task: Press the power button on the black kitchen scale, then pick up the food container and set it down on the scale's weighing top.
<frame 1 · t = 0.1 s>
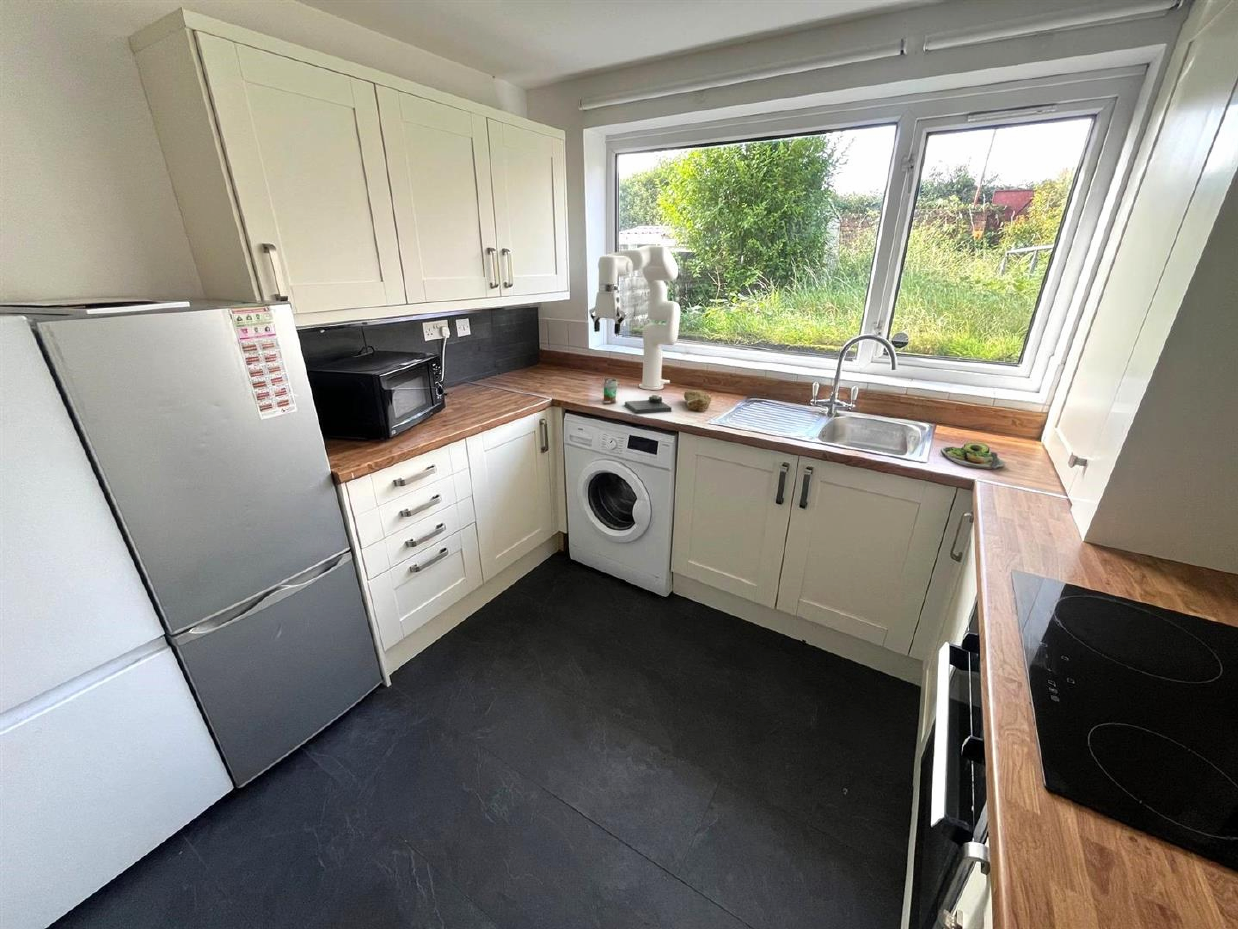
hand: (606, 332, 207), 31 cm above the countertop, tool pointing down, fingers open, 9 cm apart
food container: (610, 402, 224), on the countertop
scale button: (655, 396, 220), point 4 cm above the countertop, slide at 0.1 cm
mossy rock: (695, 406, 222), on the countertop
scale: (647, 408, 216), on the countertop
salad plate: (971, 460, 167), on the countertop
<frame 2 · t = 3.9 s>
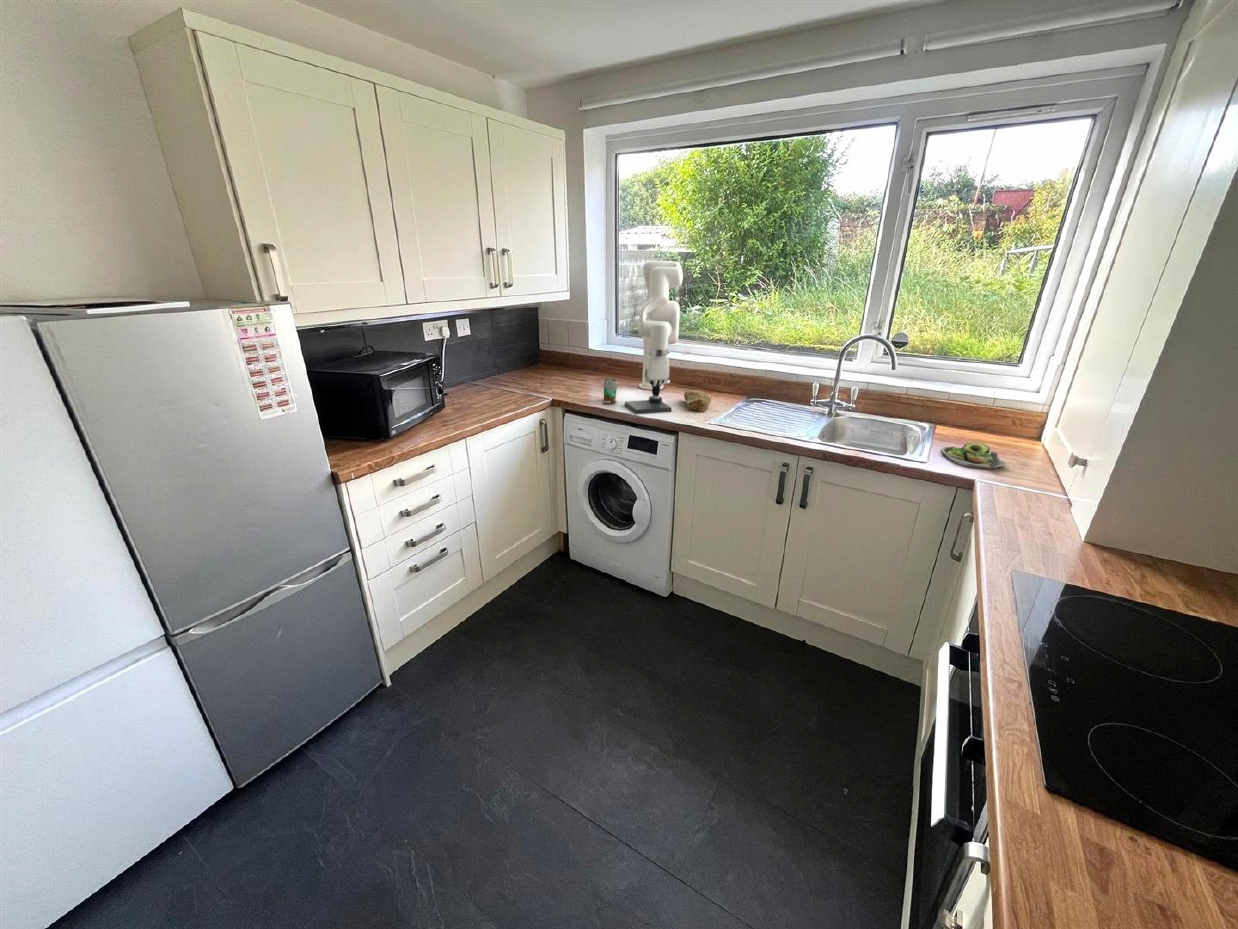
hand: (655, 395, 219), 5 cm above the countertop, tool pointing down, fingers closed
scale button: (655, 396, 220), point 4 cm above the countertop, slide at -0.1 cm, touching gripper
everything else where it was.
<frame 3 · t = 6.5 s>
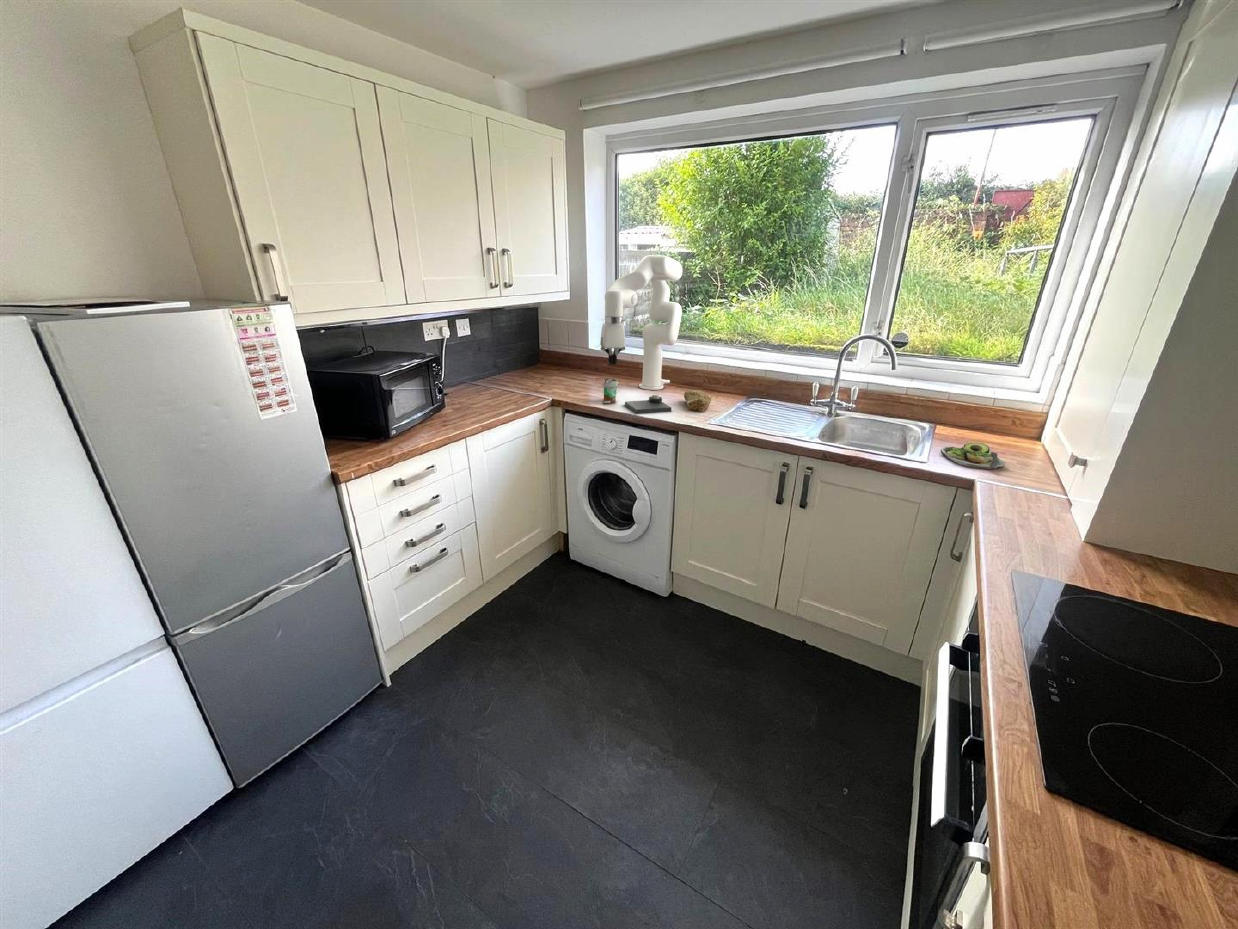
hand: (612, 363, 218), 17 cm above the countertop, tool pointing down, fingers closed
scale button: (655, 396, 220), point 4 cm above the countertop, slide at 0.1 cm
everything else where it was.
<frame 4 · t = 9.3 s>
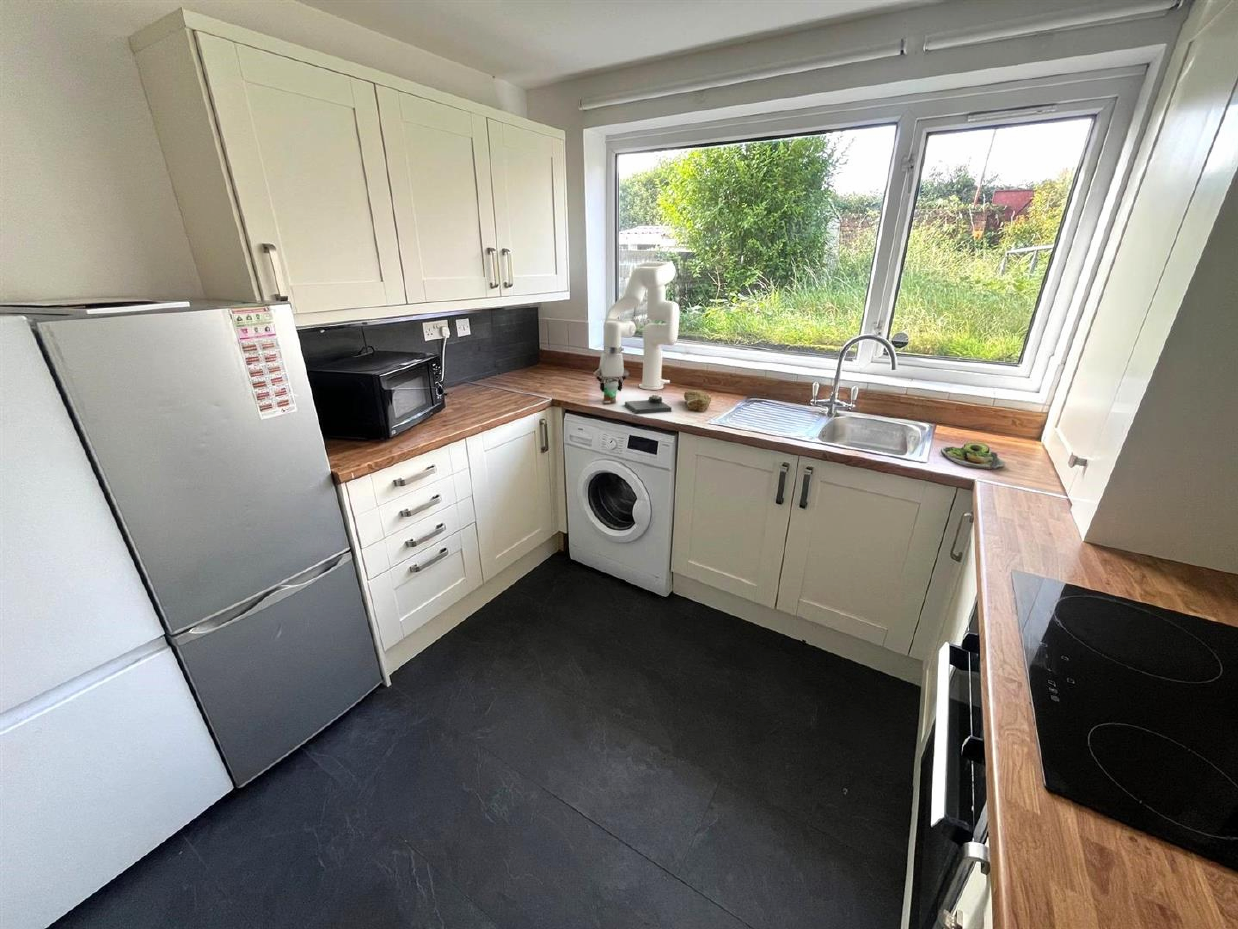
hand: (611, 390, 222), 5 cm above the countertop, tool pointing down, fingers closed on food container, 7 cm apart
food container: (610, 402, 224), on the countertop, touching gripper
everything else where it was.
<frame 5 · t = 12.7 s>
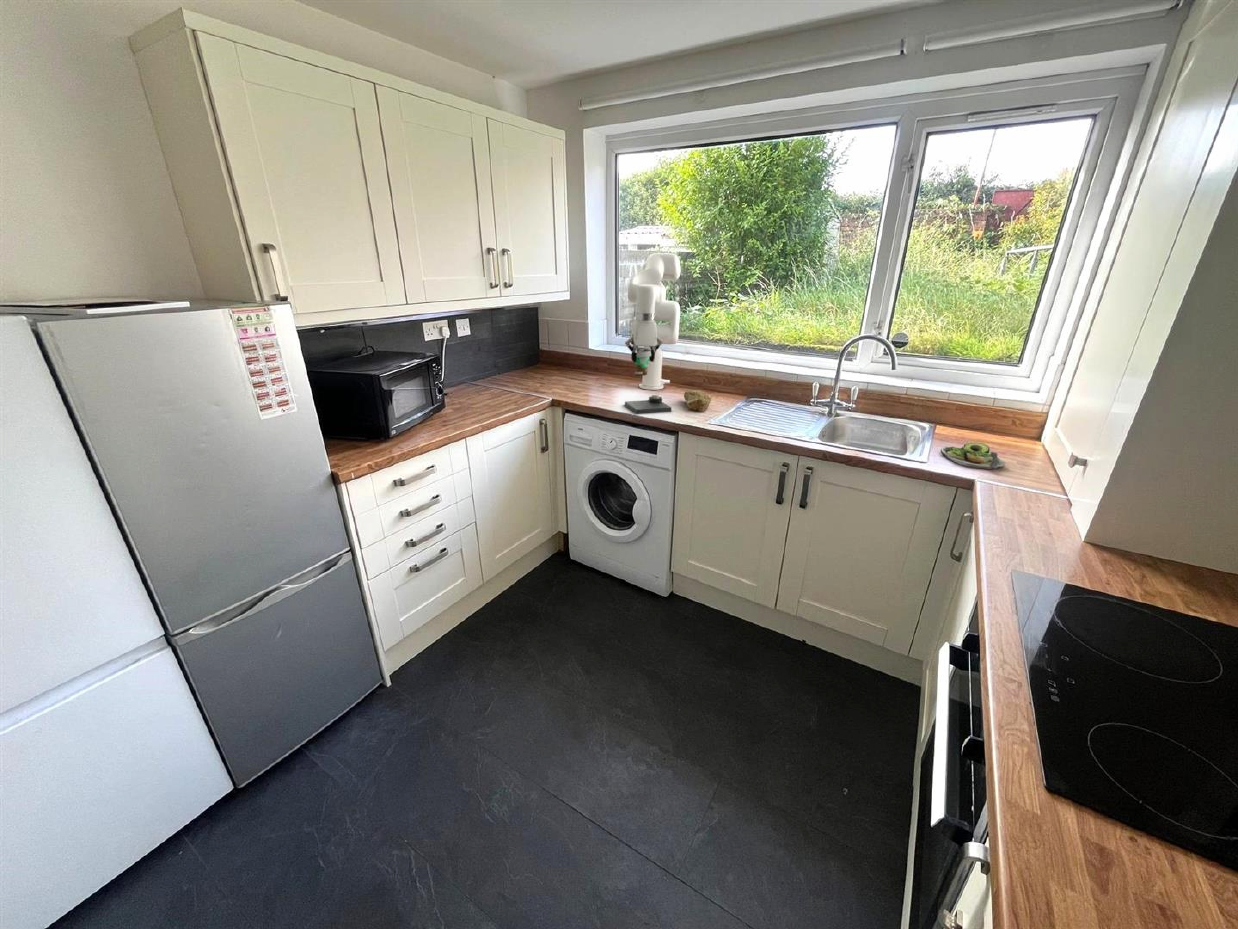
hand: (642, 361, 208), 20 cm above the countertop, tool pointing down, fingers closed on food container, 7 cm apart
food container: (642, 374, 210), point 15 cm above the countertop, touching gripper
everything else where it was.
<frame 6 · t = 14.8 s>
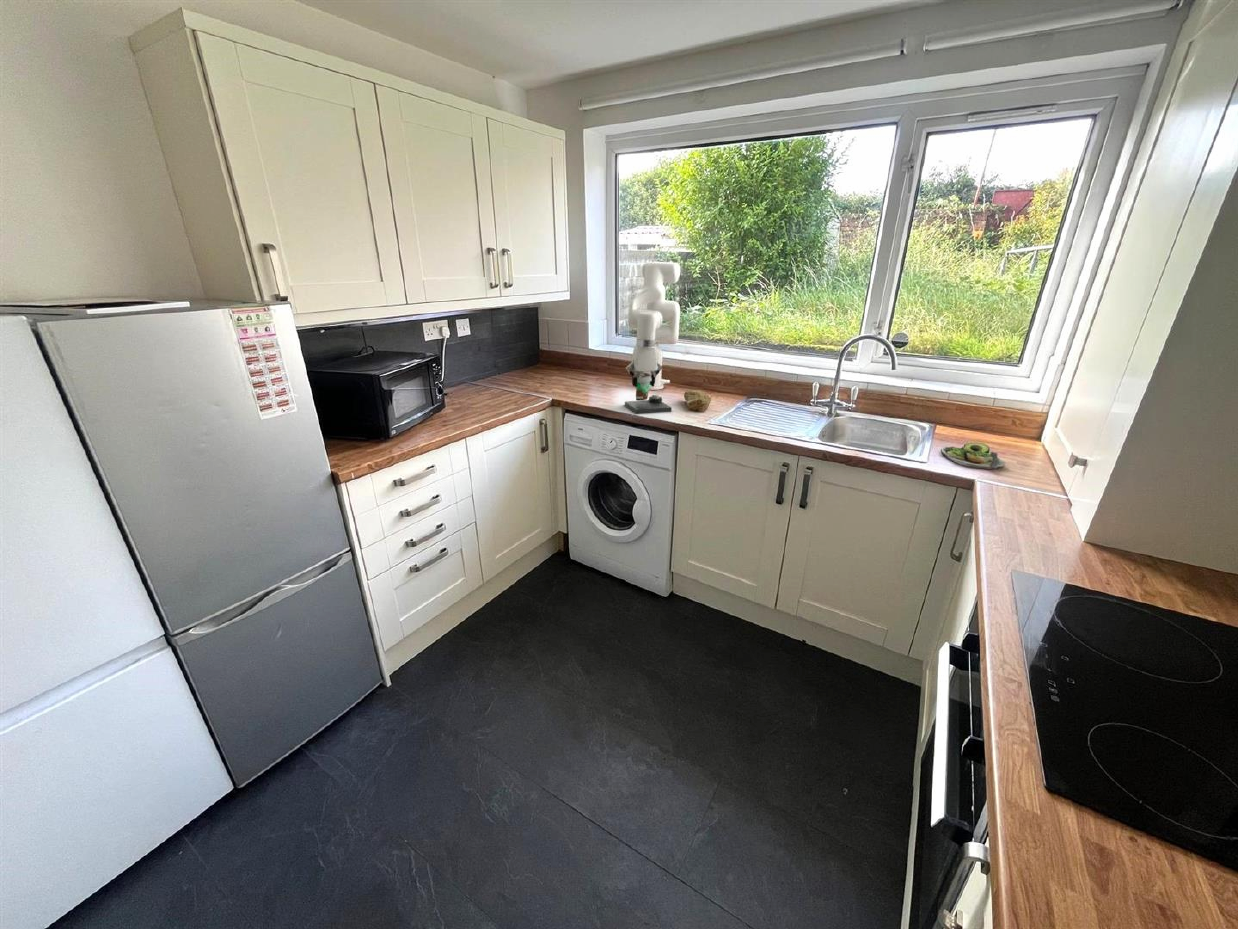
hand: (643, 385, 211), 10 cm above the countertop, tool pointing down, fingers closed on food container, 7 cm apart
food container: (643, 398, 213), point 5 cm above the countertop, touching gripper
everything else where it was.
when the fingers open (7 cm above the countertop, at t = 16.3 s): food container stays where it is, resting on scale.
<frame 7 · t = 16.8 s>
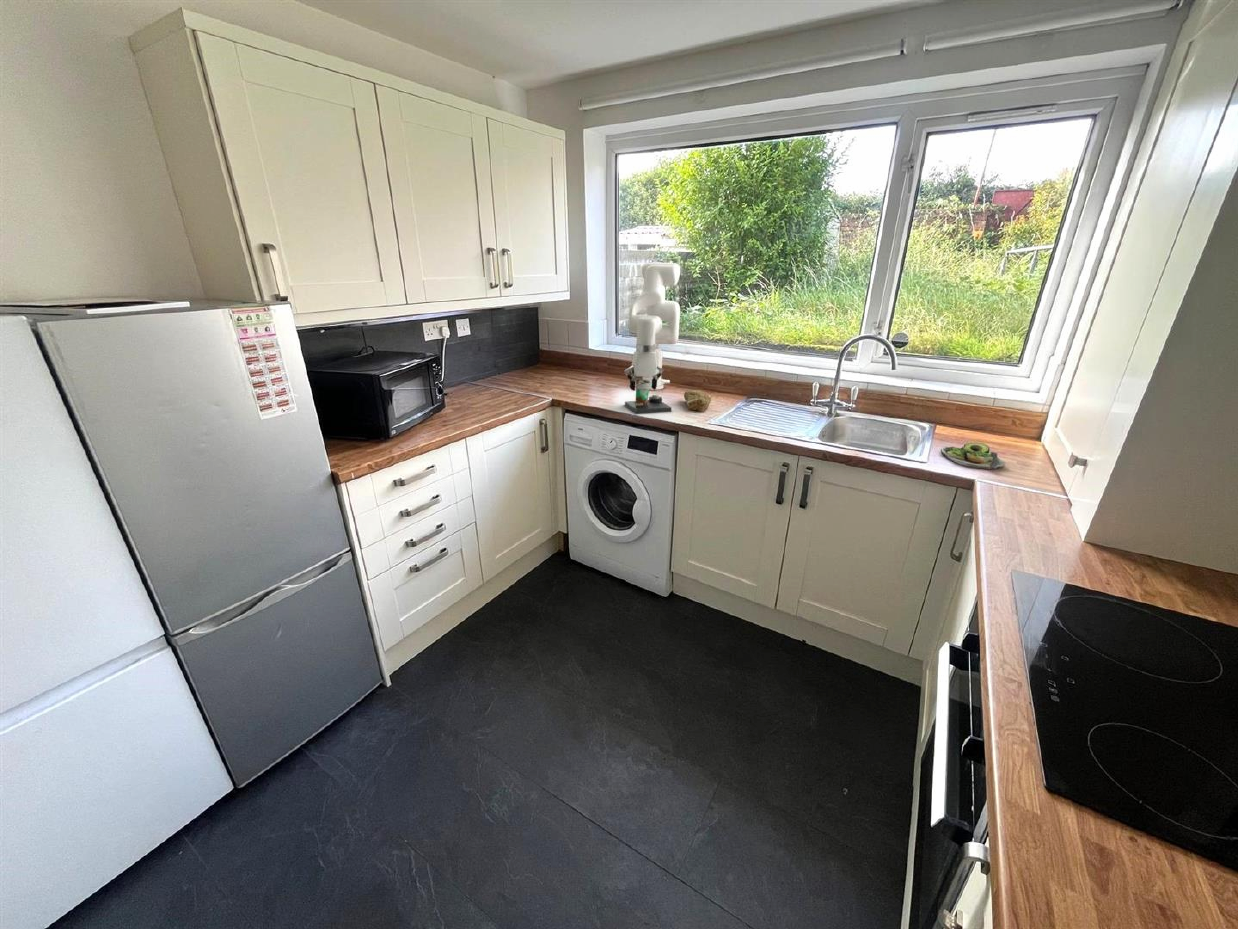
hand: (643, 389, 212), 9 cm above the countertop, tool pointing down, fingers open, 9 cm apart
food container: (642, 405, 214), point 2 cm above the countertop, touching scale
everything else where it was.
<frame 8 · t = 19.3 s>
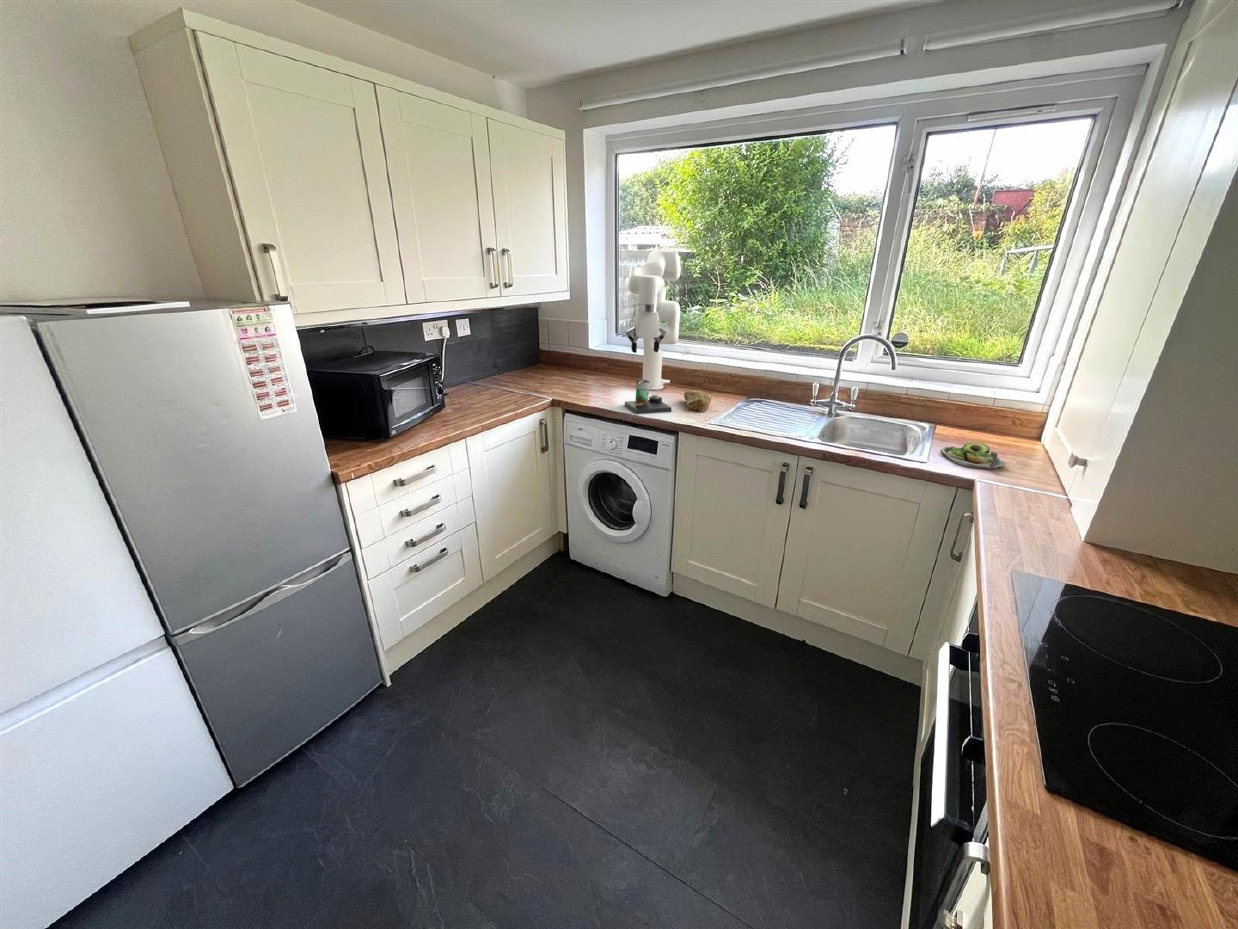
hand: (645, 352, 206), 24 cm above the countertop, tool pointing down, fingers open, 9 cm apart
nothing on the countertop moved.
at the end: scale button pushed in 0.9 cm at the most during the clip, back to where it started at the end; food container inside the target area on the scale (1.8 cm from its centre), point 1.7 cm above the scale's base; food container tilted 0° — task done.
